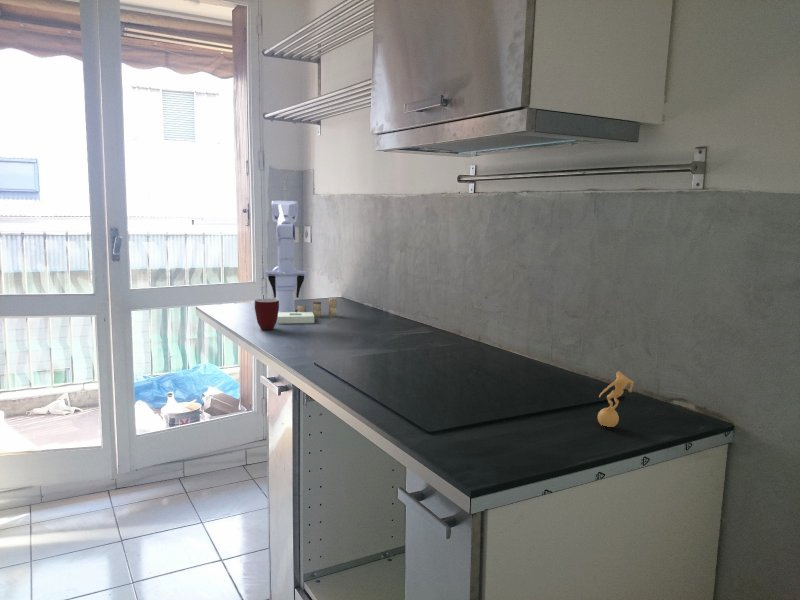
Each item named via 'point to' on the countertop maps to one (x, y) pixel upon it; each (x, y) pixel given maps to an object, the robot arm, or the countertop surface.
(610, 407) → the figurine
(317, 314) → the dowel medium
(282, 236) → the robot arm
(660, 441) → the countertop surface
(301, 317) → the board
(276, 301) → the mug
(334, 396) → the countertop surface
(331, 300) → the dowel long
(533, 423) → the countertop surface
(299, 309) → the dowel short
